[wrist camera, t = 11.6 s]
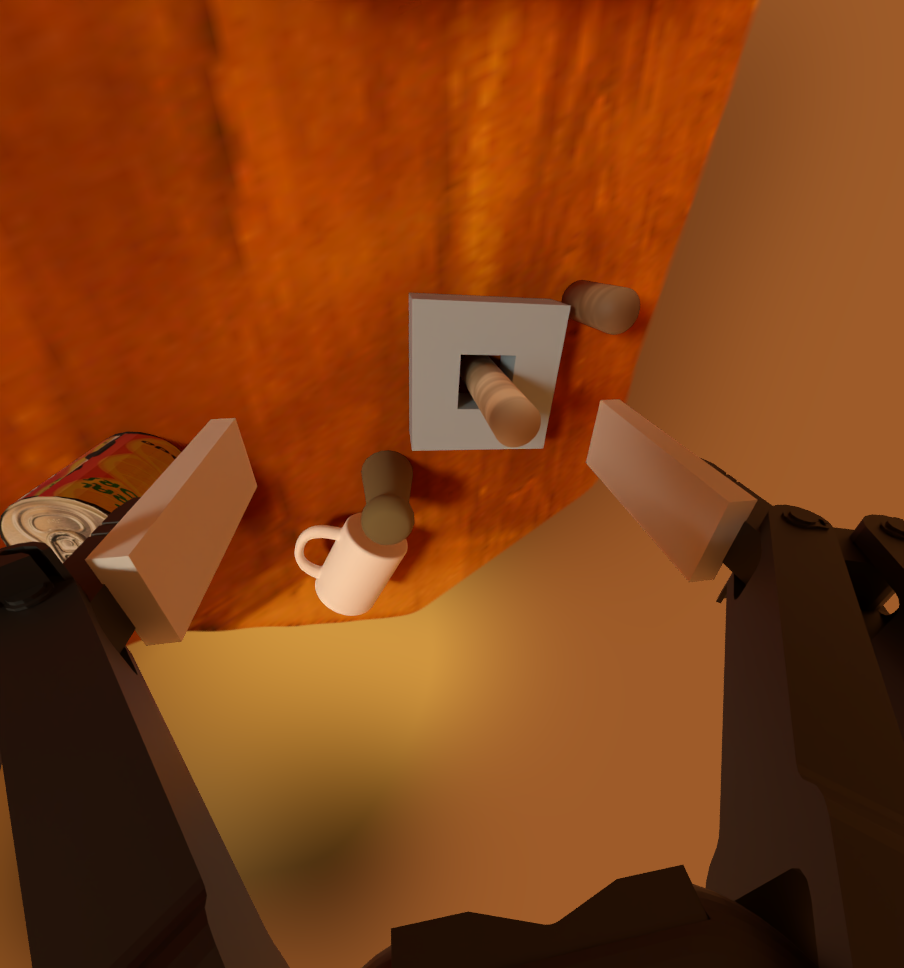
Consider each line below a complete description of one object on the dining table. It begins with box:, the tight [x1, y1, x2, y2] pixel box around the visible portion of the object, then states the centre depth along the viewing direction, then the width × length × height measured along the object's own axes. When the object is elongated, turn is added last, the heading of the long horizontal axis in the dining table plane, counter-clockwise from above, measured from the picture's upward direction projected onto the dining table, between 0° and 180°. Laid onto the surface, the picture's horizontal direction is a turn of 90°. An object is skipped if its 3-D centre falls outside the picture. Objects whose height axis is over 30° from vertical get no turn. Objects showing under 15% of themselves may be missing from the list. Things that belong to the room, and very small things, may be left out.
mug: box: [295, 513, 408, 616], centre depth 47 cm, size 12×10×8 cm
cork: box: [361, 451, 414, 545], centre depth 41 cm, size 6×6×11 cm
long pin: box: [460, 355, 541, 447], centre depth 35 cm, size 4×4×15 cm
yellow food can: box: [0, 432, 181, 563], centre depth 36 cm, size 9×9×12 cm
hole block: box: [409, 293, 571, 451], centre depth 39 cm, size 14×14×5 cm
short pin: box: [561, 280, 640, 335], centre depth 35 cm, size 4×4×8 cm
